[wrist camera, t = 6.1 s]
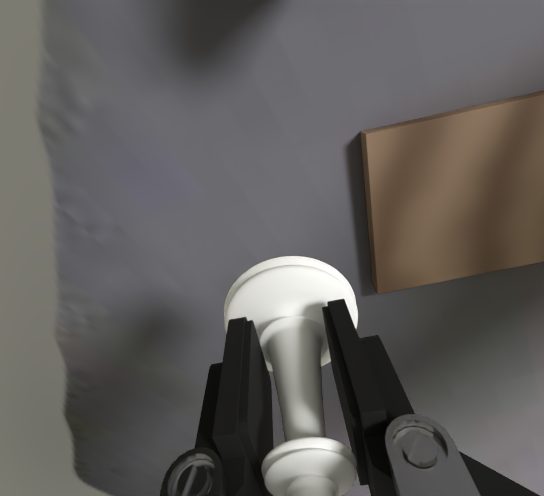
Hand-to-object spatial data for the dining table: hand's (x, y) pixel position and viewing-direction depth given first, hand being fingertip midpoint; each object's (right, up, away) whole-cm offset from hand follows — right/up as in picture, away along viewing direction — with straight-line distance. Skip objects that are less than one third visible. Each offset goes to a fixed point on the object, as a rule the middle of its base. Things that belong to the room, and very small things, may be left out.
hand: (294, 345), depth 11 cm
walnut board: (+15, +7, +12) cm, 21 cm away
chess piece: (0, +1, +2) cm, 2 cm away
